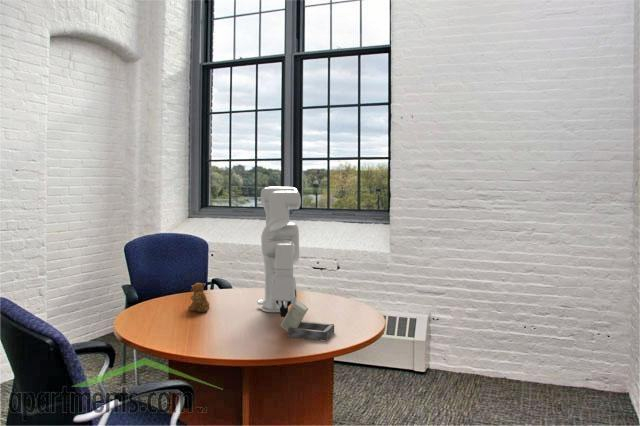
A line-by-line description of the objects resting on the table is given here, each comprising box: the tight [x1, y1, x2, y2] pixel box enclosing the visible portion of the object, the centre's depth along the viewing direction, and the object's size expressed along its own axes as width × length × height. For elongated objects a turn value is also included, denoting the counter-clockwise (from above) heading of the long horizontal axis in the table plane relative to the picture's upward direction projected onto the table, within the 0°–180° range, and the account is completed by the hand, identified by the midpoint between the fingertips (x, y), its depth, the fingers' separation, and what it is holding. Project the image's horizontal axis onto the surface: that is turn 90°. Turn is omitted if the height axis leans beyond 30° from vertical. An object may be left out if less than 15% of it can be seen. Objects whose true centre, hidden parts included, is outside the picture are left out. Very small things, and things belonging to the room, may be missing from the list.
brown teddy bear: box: [187, 282, 210, 313], centre depth 250 cm, size 10×14×13 cm
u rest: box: [287, 320, 335, 342], centre depth 213 cm, size 16×12×4 cm
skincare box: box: [280, 299, 309, 332], centre depth 214 cm, size 6×4×12 cm
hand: (283, 316), depth 216 cm, fingers closed
